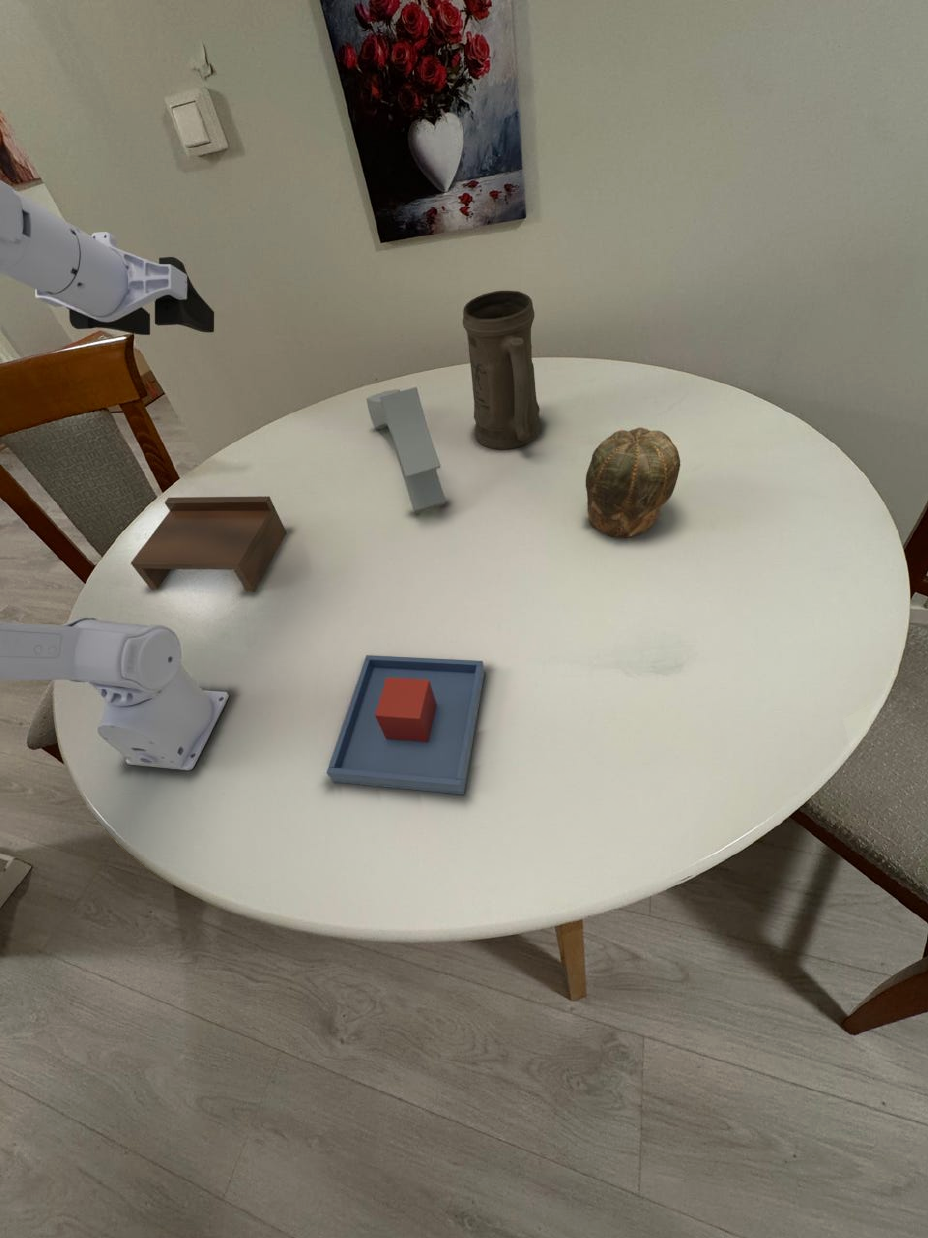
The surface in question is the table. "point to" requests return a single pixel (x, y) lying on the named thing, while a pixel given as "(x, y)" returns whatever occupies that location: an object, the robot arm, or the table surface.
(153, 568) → the shelf
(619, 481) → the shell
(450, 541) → the table surface
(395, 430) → the faucet
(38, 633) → the robot arm
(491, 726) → the table surface
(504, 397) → the beer stein
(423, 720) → the block
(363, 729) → the tray
